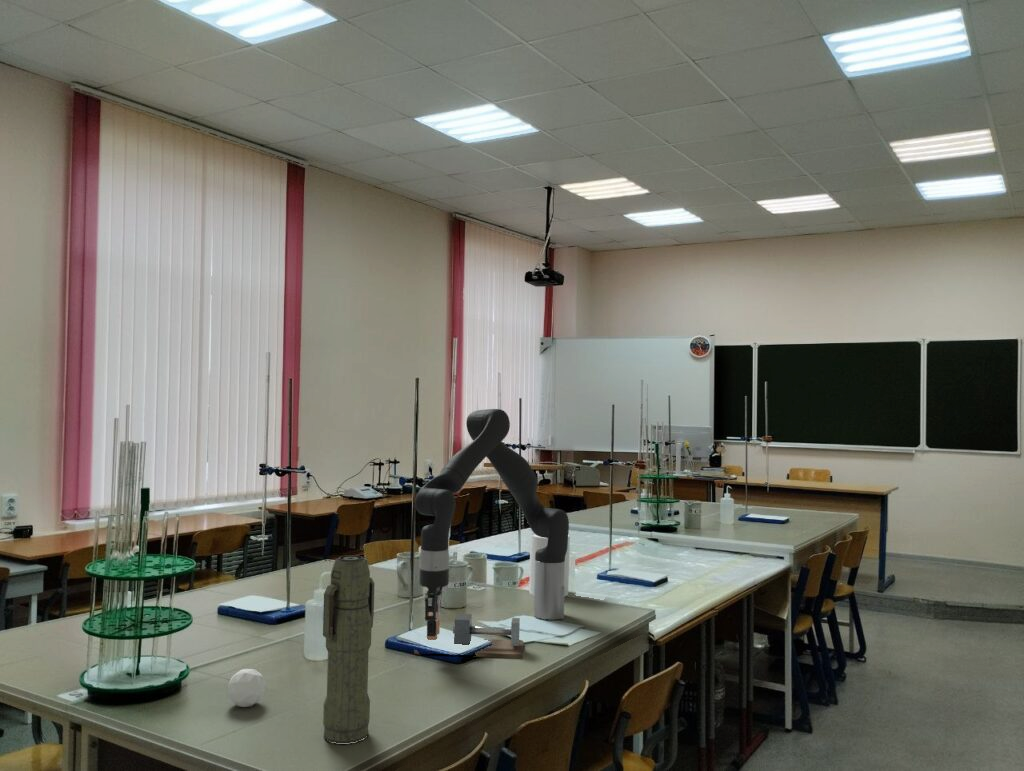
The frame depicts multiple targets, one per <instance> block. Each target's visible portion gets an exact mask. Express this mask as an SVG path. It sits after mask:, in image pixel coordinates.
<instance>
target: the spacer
mask: <svg viewBox="0 0 1024 771" xmlns="http://www.w3.org/2000/svg"><path fill="white" fill-rule="evenodd" d="M440 610H441V609H440ZM440 610H439V612H437V620H436V635H435V636H427V635H426V637H427V639H428V640H436V639H437V637H438V635H439V634H440V629H441V628H440V624H441V621H440V620H441V619H440V618H441V615H440V614H441V612H440ZM429 616H433V612H430V613H429Z"/></svg>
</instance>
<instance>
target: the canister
mask: <svg viewBox="0 0 1024 771" xmlns="http://www.w3.org/2000/svg"><path fill="white" fill-rule="evenodd" d="M529 541H530V542H529V543H530V544H529V545H530V546H529V548H530V549H529V550H530V551H529V587H528V588H529V590H528V591H529V592H528V593H529V594H530V595H532V596H534V590H535V553H536V551H537V550H539V549H542V548H545V547H546V546H547V544H548V538H544V537H540V536H537V535H536V534H535V533H534V532H532V533H530V540H529ZM570 542H571V541H570V534H568V546H567V552H566V555H565V577H564V588H565V590H564V597H566V596H568V595H569V578H570V577H569V576H570Z"/></svg>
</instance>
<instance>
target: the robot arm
mask: <svg viewBox="0 0 1024 771" xmlns="http://www.w3.org/2000/svg"><path fill="white" fill-rule="evenodd" d="M510 426H511V423H510V417H509V415H508V414H507V412H506V411H505V410H504V409H499V408H490V409H479V410H473V411H471V413H469V414H468V415H467V417H466V430H467V432H468V435H469V437H470V439H471V440H472V441H471V442H469V443H468V445H466V446H465V447H463V448H462V449H460V450H459V451H458V452H456V453H455V454H454V455H453V456H452V457H451V458H450V459H448V461H447V462H446V464H445V465H444V466H443V468H442V469H441V470H440V472H439V473H438V474H437V475H436V476H434V477H433V478H432V479H430V480H429V481H428V482H426V483H425V484H424V485H422V487H420V489H419V490H418V492H417V493H416V496H415V499H414V507H415V509H416V511H417V513H418V514H420V515H423V516H431V517H435V519H434V522H433V523H432V524H426V525H425V526H423V527H422V529H421V532H420V554H419V575H418V576H419V577H418V578H419V581H418V582H419V586H421V587H423V588H427V590H426V593H425V596H424V602H425V603H424V612H425V613H424V614H425V615H424V616H425V617H424V619H425V622H426V637H427V636H435V635H436V620H437V612H439V610H440V613H441V612H442V610H441V609H442V607H443V588H445V587H447V586H448V585H449V583H450V580H449V579H450V578H449V577H450V554H449V534H450V528H451V526H452V522H453V521H452V520H453V518H454V515H455V512H456V511H455V509H456V498H455V495H454V494H457V493H458V492H460V491H461V490H462V488H463V487H464V485H465V484H466V482H467V481H468V480H469V478H470V476H471V475H472V474H473V472H474V471H475V470H476V468H477V467H478V466H479V465H480V464H481V463H482V462H483V461H484V459H485V458H486V459H487V460H488V461H489V462H490V464H491V465H492V466H493V468H494V470H495V471H496V472H497V473H498V475H499V477H500V479H501V480H502V482H503V483H504V485H505V487H506V488H507V490H508V491H509V492H510V494H511V495H512V497H513V498H514V499H515V501H516V503H517V504H518V506H519V508H520V510H521V511H522V513H523V515H524V517H525V519H526V522H527V524H528V525H529V528H530V530H531V531H532V533H535V534H536V535H537V536H540V537H544V538H548V544H547V546H546V547H545V548H542V549H539V550H537V551H536V553H535V590H534V595H533V598H534V600H533V616H534V617H535V618H537V619H540V618H541V620H546V619H548V621H551V620H553V621H554V620H555V621H556V620H561V619H562V620H564V619H565V596H564V590H565V588H564V577H565V555H566V552H567V546H568V535H569V532H570V531H569V530H570V521H569V520H570V519H569V515H568V513H567V512H566V511H565V510H563V509H559V508H553V507H552V508H551V507H546V506H544V504H543V503H542V502H541V501H540V499H539V497H538V496H537V490H538V478H537V475H536V473H535V471H534V470H533V468H532V467H531V465H530V464H529V462H528V461H527V459H525V457H523V455H521V454H519V453H518V452H516V450H513V449H512V448H511V447H509V446H507V445H506V444H504V443H503V441H504V439H505V438H507V436H508V434H509V431H510V428H511V427H510ZM430 612H433V616H429V613H430Z"/></svg>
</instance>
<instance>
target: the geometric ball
mask: <svg viewBox="0 0 1024 771" xmlns="http://www.w3.org/2000/svg"><path fill="white" fill-rule="evenodd" d="M265 689H266V680H265V679H264V676H263V675H262V674H261V673H260V671H257V670H256V669H254V668H242V669H241V670H239V671H237V672H236V673H234V674H233V675H232V676H231V679H230V681H229V683H228V686H227V696H228V697H229V700H230V701H231V702H232V704H234V705H236V706H237V707H239V708H240V707H241V708H248V707H249V708H250V707H252V706H254V705H255V704H257V703H258V702H259V701H261V700H262V698H263V695H264V693H265Z"/></svg>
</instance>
